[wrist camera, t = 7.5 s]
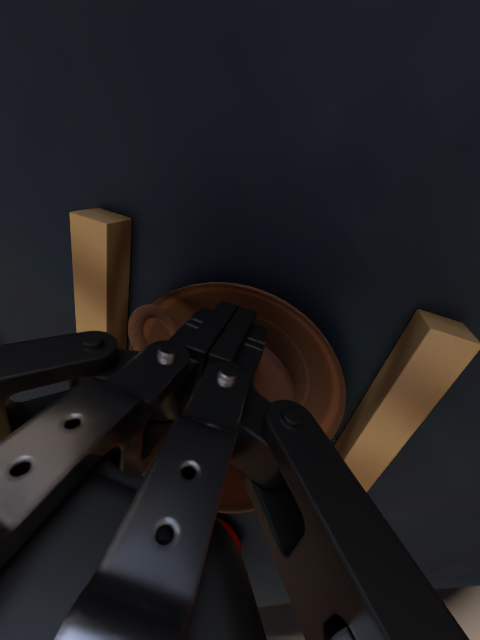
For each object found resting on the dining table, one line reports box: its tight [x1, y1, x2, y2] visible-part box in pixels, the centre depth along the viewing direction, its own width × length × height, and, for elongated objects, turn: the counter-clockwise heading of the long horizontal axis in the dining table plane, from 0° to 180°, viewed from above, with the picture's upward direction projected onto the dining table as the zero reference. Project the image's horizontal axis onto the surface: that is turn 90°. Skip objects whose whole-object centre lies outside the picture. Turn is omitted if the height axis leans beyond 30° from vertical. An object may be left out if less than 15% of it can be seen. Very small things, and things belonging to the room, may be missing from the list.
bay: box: [70, 208, 480, 492], centre depth 18 cm, size 18×18×2 cm
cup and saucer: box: [128, 282, 346, 513], centre depth 15 cm, size 12×12×6 cm
